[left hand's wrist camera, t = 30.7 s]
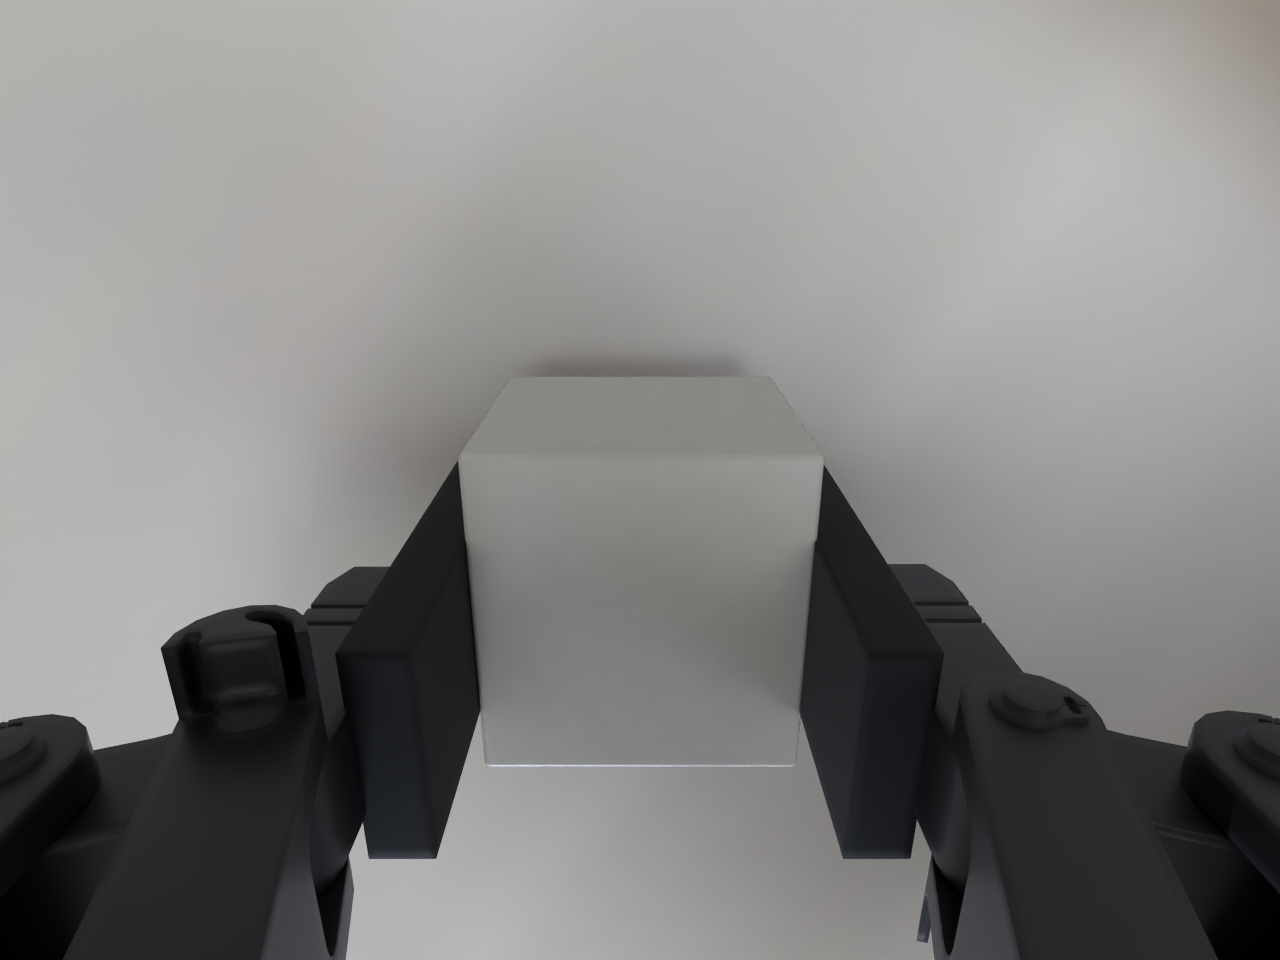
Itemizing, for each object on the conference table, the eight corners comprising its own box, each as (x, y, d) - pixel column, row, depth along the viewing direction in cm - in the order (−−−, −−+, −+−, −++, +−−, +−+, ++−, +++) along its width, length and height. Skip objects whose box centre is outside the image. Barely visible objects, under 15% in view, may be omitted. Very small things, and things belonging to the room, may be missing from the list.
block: (773, 375, 14) (825, 455, 10) (757, 619, 15) (797, 768, 11) (508, 375, 14) (456, 454, 10) (523, 619, 15) (483, 768, 11)
